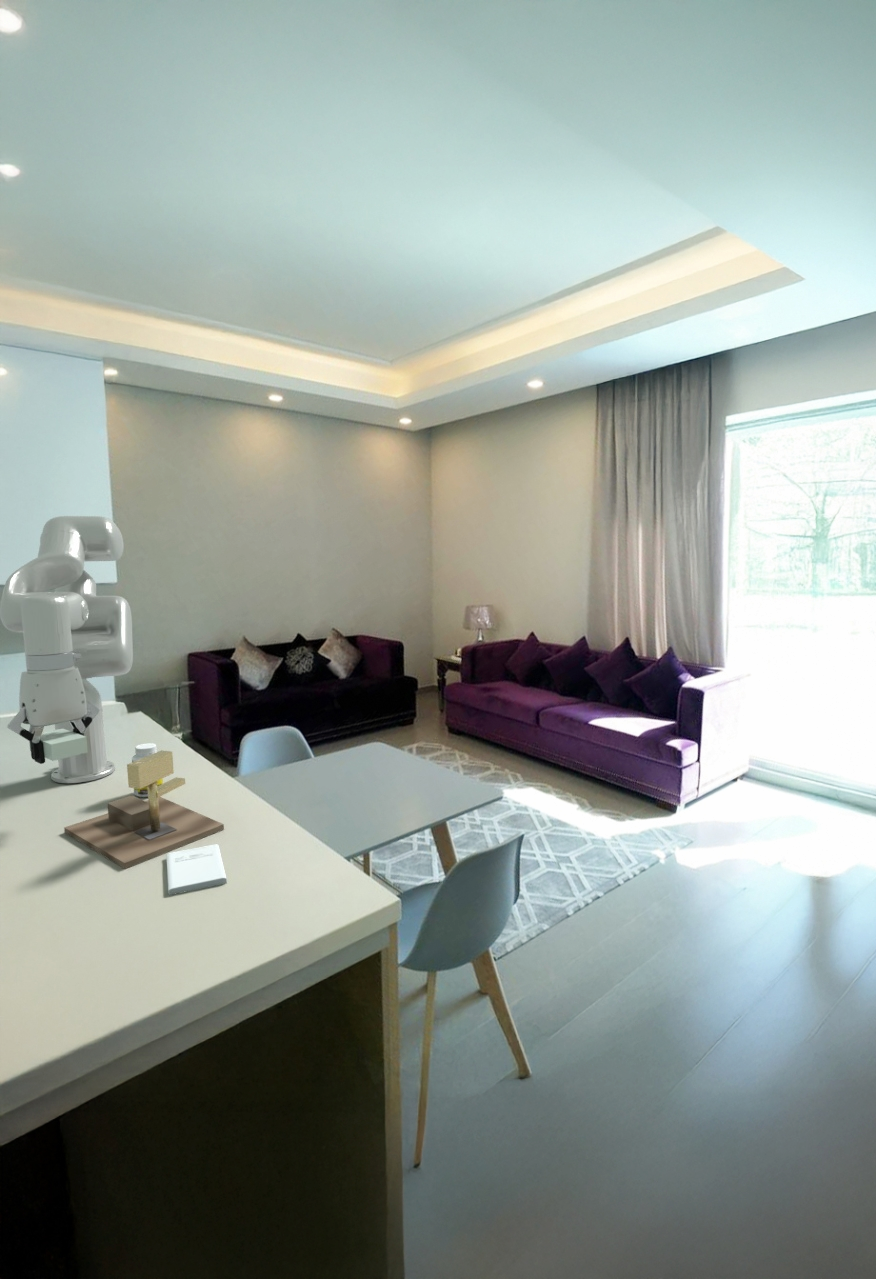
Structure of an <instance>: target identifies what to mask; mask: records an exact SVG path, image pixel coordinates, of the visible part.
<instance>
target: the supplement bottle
mask: <svg viewBox="0 0 876 1279" xmlns="http://www.w3.org/2000/svg"><path fill="white" fill-rule="evenodd" d="M134 748H135V754H134V755H133V756H132V758H131V763H132V762H134V761H137V760H139V759H142V758H144V757H147V756H149V755H151V754H154V753H156V752H158V751H157V749H158V748H157V744H156V743H152V742H151V743H150V742H149V743H141V744H137V745H136V746H135V747H134ZM163 779H164V778H162V779H160V780H158V781H157V786H159V785H161V784H163V783H164V782H163V781H164V780H163ZM133 793H134V795H135V797H137V798H138V797H140V798H148V789H147V786H145V787H143V788H141V789H137V788H133Z"/></svg>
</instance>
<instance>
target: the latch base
mask: <svg viewBox="0 0 876 1279" xmlns="http://www.w3.org/2000/svg"><path fill="white" fill-rule="evenodd" d="M158 801H159V814H160V829H158V830H151V828H150V815H149V802H148V799H147V800H143V799H140V798H138V796H134V795H129V796H125V797H122V798H119V799H116V800H113V801H109V802H107V813H104V814H101V815H98V816H96V817H92V818H89V819H87V820H83V821H80V822H76V823H74V824H71V825H68V826H65V827H63V830H64V833H65V834H66V835H67V836H69V837H71V838H73V839H74V840H75V841H78V842H79V843H81V844H83V845H84V846H86V847H87V848H89V849H90V850H93V851H95V852H96V853H97V854H99V855H101V856H102V857H104V858H106V859H107V860H109V861H112V863H115V864H116V865H118V866H119V867H121V868H123V869H124V870H126V869H129V868H131V867H134V866H136V865H139V864H142V863H144V862H147V861H149V860H152V859H154V858H157V857H159V856H161V855H164V854H167V853H170V852H172V851H173V850H176V849H180V848H181V847H183V846H186V845H189V844H191V843H194V842H196V841H199V840H202V839H204V838H206V837H208V835H209V836H211V835H214V834H216V833H219V832H221V831H223V829H224V830H225V824H224V823H222V822H219V821H217V820H214V819H212V818H210V817H208V816H206V815H203V814H200V813H198V812H196V811H195V810H191V809H190V808H187V807H185V806H182V805H180V804H178V803H175V802H174V801H171V800H169V799H166V798H164V797H162V796H160V797H158ZM218 831H219V832H218ZM213 833H214V834H213ZM198 839H199V840H198Z"/></svg>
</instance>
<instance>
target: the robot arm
mask: <svg viewBox="0 0 876 1279" xmlns="http://www.w3.org/2000/svg"><path fill="white" fill-rule="evenodd" d="M124 548H125V547H124V539H123V534H122V533H121V530H120V528H119V527H118V526H117V525H116V523H115V522H114V521H113V520H111V519H110V518H108V517H105V516H95V515H94V516H87V515H86V516H85V515H83V516H82V515H75V516H74V515H62V516H55V517H52V518H50V519H49V520H47V521H46V522H45V524H44V525H43V528H42V532H41V534H40V538H39V548H38V553H37V557H36V558H34V559H32V560H30V561H28V562H26V564H24V565H22V566H20V567H19V568H18V569H16V570H15V571H13V572H12V573H11V574H10V575H9V576H8V577H7V579H6V581H5V583H4V586H3V591H2V595H1V599H0V620H1V623H2V625H3V627H5V629H7V630H8V631H10V632H13V633H22V635H23V645H24V657H25V665H26V666H25V668H26V671H22V672H21V675H20V680H19V681H20V682H19V696H18V697H19V699H18V700H19V702H18V703H19V707H18V709H19V711H18V712H17V713H16V714H15V715H14V717H13V718H12V719H11V721H10V722H8V724H7V726H6V728H7V729H9V730H10V731H12V732H13V733H15V734H17V735H18V736H21V737H22V738H24V739H25V740H27V741H28V742H29V741H30V744H29V749H30V748H31V751H30V756H31V759H32V760H34V762H36V763H38V764H40V765H42V764H45V763H46V758H45V757H44V747H43V742H41V739H40V738H41V735H42V733H43V731H44V728H45V727H48V726H49V727H50V726H53V725H54V730H58V729H66V730H69V731H71V732H74V733H77V734H80V735H83V736H86V738H87V750H88V753H84V754H79V755H75V756H71V757H67V758H63V759H59V760H57V762H58V768H55V770H54V771H52V772H51V774H50V776H51V780H52V781H53V782H55V783H59V784H77V783H79V784H80V783H87V782H90V781H96V780H98V779H102V778H105V777H107V776H109V775H111V774H112V773H113V772H114V771H115V769H116V766H115V763H114V762H112V761H110V760H107V748H106V739H105V738H106V737H105V736H106V735H105V728H104V725H105V724H104V715H103V703H102V697H101V693H100V692H99V691H98V688H96V687H95V686H94V685H93V684H92V683H91V682H90V680H89V681H88V679H92V678H103V677H104V678H105V677H115V676H123V675H126V674H128V673H129V672H130V671H131V669H132V666H133V661H134V649H133V648H134V647H133V644H134V643H133V618H132V610H131V607H130V606H131V605H130V604H129V602H128V600H127V599H125V597H123V596H120V595H97V583H96V581H95V579H94V578H93V577H92V576H91V575H90V574H89V573H88V572H87V571H86V570H85V569H84V567H85V562H113V561H114V562H115V561H118V560H120V559H121V558H122V556H123V553H124ZM52 590H54V591H52ZM22 724H24V725H29V729H25V728H24V727H22Z"/></svg>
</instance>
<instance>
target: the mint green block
mask: <svg viewBox="0 0 876 1279" xmlns="http://www.w3.org/2000/svg"><path fill="white" fill-rule="evenodd" d="M40 739H41V742H43V747H44V757H45V759H47V760H50V761H52V762H55V761H58V760H59V759H63V758H67V757H71V756H75V755H79V754H84V753H88V750H87V738H86V736H83V735H80V734H77V733H74V732H71V731H69V730H66V729H58V730H55V729H54V730H49V731H44V732H42V735H41V738H40ZM28 744H29V745H30V741H28ZM29 752H31V748H30V747H29Z"/></svg>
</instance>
